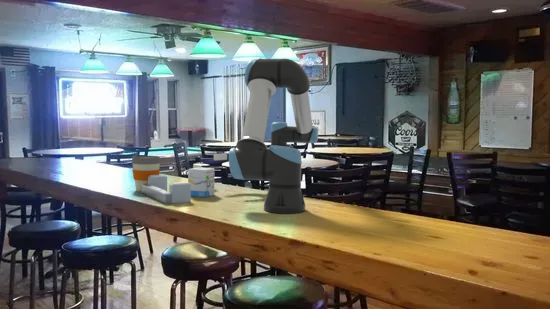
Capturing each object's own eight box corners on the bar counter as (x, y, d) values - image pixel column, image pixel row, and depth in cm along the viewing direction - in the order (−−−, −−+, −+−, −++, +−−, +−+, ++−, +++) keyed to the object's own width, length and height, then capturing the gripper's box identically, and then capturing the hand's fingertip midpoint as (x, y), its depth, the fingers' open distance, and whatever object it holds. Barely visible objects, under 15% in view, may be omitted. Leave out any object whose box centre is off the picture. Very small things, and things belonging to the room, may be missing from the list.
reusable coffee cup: (150, 192, 221) (150, 158, 220) (126, 191, 225) (125, 157, 224) (165, 189, 233) (165, 156, 232) (142, 187, 237) (142, 155, 236)
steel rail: (171, 203, 196) (171, 193, 195) (164, 204, 194) (164, 193, 194) (147, 192, 221) (147, 183, 221) (141, 193, 220) (141, 183, 219)
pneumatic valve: (203, 189, 234) (203, 163, 233) (191, 186, 243) (191, 161, 242) (213, 188, 237) (214, 162, 236) (201, 185, 246) (201, 160, 245)
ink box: (205, 197, 211) (205, 169, 210) (187, 196, 214) (187, 168, 213) (214, 194, 218) (215, 167, 218) (197, 193, 221) (197, 166, 221)
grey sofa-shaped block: (190, 201, 200) (190, 182, 199) (172, 203, 196) (172, 183, 195) (164, 191, 225) (164, 174, 225) (148, 192, 221) (148, 175, 221)
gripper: (277, 167, 224) (237, 170, 211) (246, 161, 244) (207, 164, 231) (278, 150, 223) (237, 152, 211) (246, 146, 243) (207, 148, 231)
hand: (221, 158), depth 221 cm, fingers open, 13 cm apart
